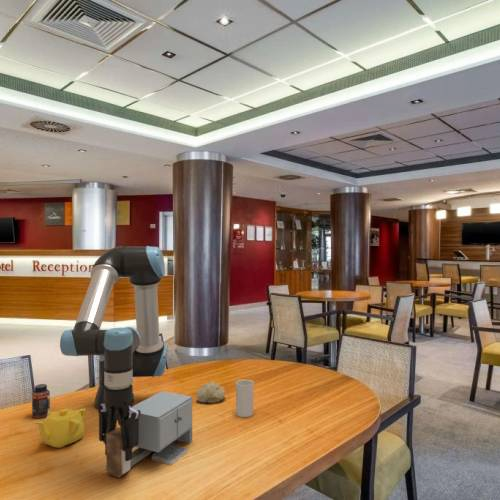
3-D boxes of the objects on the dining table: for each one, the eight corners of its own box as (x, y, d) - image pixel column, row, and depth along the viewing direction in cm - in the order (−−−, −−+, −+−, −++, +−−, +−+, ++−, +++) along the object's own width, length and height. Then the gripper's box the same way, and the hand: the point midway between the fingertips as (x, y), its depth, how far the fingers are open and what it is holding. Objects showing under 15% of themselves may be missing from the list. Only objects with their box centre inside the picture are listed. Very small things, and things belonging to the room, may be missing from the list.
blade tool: (106, 473, 115) (106, 433, 115) (155, 440, 134) (155, 406, 134) (119, 477, 113) (119, 436, 113) (167, 443, 133) (167, 408, 132)
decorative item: (212, 398, 162) (195, 383, 168) (208, 415, 166) (191, 399, 171) (233, 386, 172) (217, 372, 177) (228, 403, 175) (212, 388, 180)
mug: (256, 416, 156) (256, 383, 155) (239, 419, 153) (239, 386, 153) (246, 406, 165) (246, 376, 165) (230, 409, 162) (230, 378, 162)
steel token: (151, 461, 124) (151, 455, 124) (168, 449, 131) (168, 443, 131) (171, 466, 121) (171, 460, 121) (187, 454, 128) (187, 448, 128)
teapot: (78, 450, 129) (78, 417, 129) (33, 454, 127) (34, 420, 127) (87, 431, 142) (88, 401, 142) (47, 434, 140) (47, 403, 140)
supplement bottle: (53, 414, 157) (53, 384, 157) (39, 420, 151) (39, 389, 151) (42, 411, 159) (42, 382, 159) (28, 417, 154) (28, 386, 154)
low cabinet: (125, 459, 124) (125, 410, 124) (161, 434, 140) (161, 391, 140) (161, 468, 118) (161, 417, 118) (195, 441, 135) (195, 397, 135)
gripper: (84, 384, 116) (84, 468, 116) (134, 394, 108) (134, 483, 109) (104, 377, 123) (104, 456, 123) (152, 385, 115) (152, 469, 115)
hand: (118, 468), depth 116 cm, fingers closed on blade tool, 4 cm apart
